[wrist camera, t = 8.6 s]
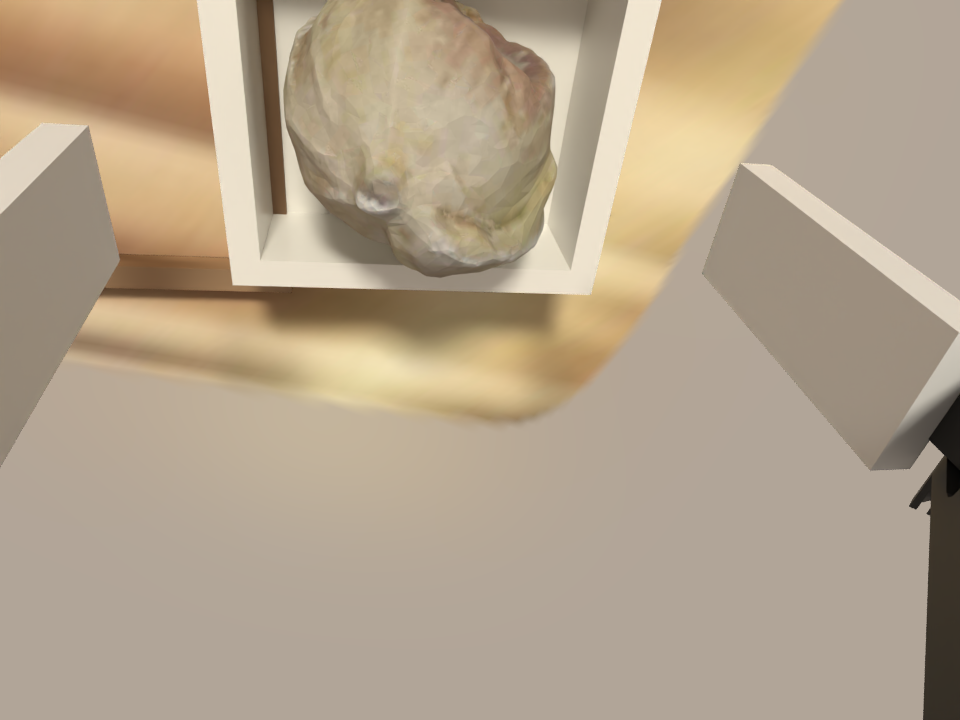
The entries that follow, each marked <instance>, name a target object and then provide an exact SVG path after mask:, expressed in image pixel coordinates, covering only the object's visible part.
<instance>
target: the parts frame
mask: <svg viewBox="0 0 960 720" xmlns="http://www.w3.org/2000/svg"><path fill="white" fill-rule="evenodd" d="M256 3H257V15H258V28H259V41H260V53H261V66H262V79H263V91H264V104H265V117H266V129H267V142H268V155H269V167H270V180H271V193H272V205H273V214H285V215H287V203H286V188H285V173H284V158H283V143H282V127H281V112H280V97H279V82H278V67H277V51H276V36H275V21H274V6H273V0H256ZM119 258H120V261H119V263H118V265H117V266H116V268H115V270H114V272H113V273H112V275H111V277H110V278H109V280H108V282H107V284H106V285H105V287H104V288H128V289H168V290H208V291H247V292H287V293H292V289H293V287H281V286H243V285H233V283H232V275H231V267H230V259H229V258H218V257H188V256H158V255H128V254H119Z"/></svg>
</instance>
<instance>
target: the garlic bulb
mask: <svg viewBox="0 0 960 720" xmlns="http://www.w3.org/2000/svg"><path fill="white" fill-rule="evenodd" d="M555 88H556V86H555V76H554V75H553V73H552V72H551V70H550V67H549V65H548V64H547V63H546V62H545V61H544V60H543V59H542V58H541V57H539V56H537V54H536V53H535V52H534V51H533V50H532V49H529V48H527V47H524V46H522V45H520V44H518V43H515V42H509V41H507V40H506V39H505V38H504V37H503V35H502V34H501V33H500V32H499V31H498V30H497V29H495V28H494V27H492V26H491V25H488V24H485V23H484V22H483V20H482V18H481V16H480V14H479V13H478V11H477V10H476V9H475V8H472V7H469V6H465V5H463V4H462V3H460V2H457V1H455V0H327V2H326V3H325V5H324V6H323V8H322V9H321V11H320V13H319V14H318V16H313V17H311V18H310V19H309V20H308V21H307V23H306V24H305V25H304V26H303V27H301V28H300V29H298V31H297V33H296V35H295V39H294V43H293V46H292V49H291V52H290V57H289V63H288V67H287V72H286V76H285V82H284V89H283V99H284V115H285V122H286V128H287V131H288V134H289V136H290V139H291V142H292V145H293V147H294V150H295V153H296V157H297V161H298V165H299V169H300V172H301V175H302V178H303V181H304V184H305V185H306V187H307V188H308V190H309V191H310V192H311V193H312V194H313V195H314V196H315V197H316V198H317V199H318V200H319V201H320V202H321V204H322V205H323V206H324V207H325V208H326V209H327V210H328V211H329V212H330V213H332V214H333V215H335V216H336V217H338V218H339V219H341V220H342V221H343V222H345V223H346V224H347V225H348V226H350V227H351V228H352V229H353V230H355V231H356V232H357V233H359V234H360V235H362V236H363V237H366V238H368V239H370V240H373V241H376V242H381V243H385V244H387V245H389V246H390V247H391V249H392V252H393V254H394V256H395V257H396V259H397V260H398V261H399V262H400V263H402V264H403V265H404V266H406V267H408V268H410V269H412V270H416V271H418V272H420V273H421V274H423V275H425V276H429V277H438V278H442V277H446V276H450V275H458V274H468V273H477V272H482V271H485V270H488V269H491V268H493V267H497V266H500V265H504V264H507V263H511V262H514V261H516V260H517V259H518V258H520V257H521V256H523V255H524V254H526V253H527V252H529V251H530V250H531V249H532V248H534V247H535V245H536V244H537V242H538V240H539V237H540V235H541V233H542V231H543V227H544V207H545V204H546V202H547V200H548V198H549V195H550V193H551V191H552V189H553V186H554V183H555V180H556V177H557V168H558V167H557V164H556V162H555V159H554V157H553V154H552V152H551V150H550V139H551V129H552V121H553V114H554V107H555Z"/></svg>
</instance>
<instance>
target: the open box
mask: <svg viewBox="0 0 960 720" xmlns="http://www.w3.org/2000/svg"><path fill="white" fill-rule="evenodd" d="M455 1H457V2H460V3H462V4H463V5H465V6H469V7H472V8H475V9H476V10H477V11H478V13H479V14H480V16H481V18H482V20H483V22H484V23H485V24H488V25H491V26H492V27H494V28H495V29H497V30H498V31H499V32H500V33H501V34H502V35H503V37H504V38H505V39H506V40H507V41H509V42H515V43H518V44H520V45H522V46H524V47H527V48H529V49H532V50H533V51H534V52H535V53H536V54H537V56H539V57H541V58H542V59H543V60H544V61H545V62H546V63H547V64H548V65H549V67H550V70H551V72H552V73H553V75H554V76H555V86H556V88H555V107H554V114H553V121H552V129H551V139H550V150H551V152H552V154H553V157H554V159H555V162H556V164H557V167H558V168H557V177H556V180H555V183H554V186H553V189H552V191H551V193H550V195H549V198H548V200H547V202H546V204H545V207H544V227H543V231H542V233H541V235H540V237H539V240H538V242H537V244H536V245H535V247H534V248H532V249H531V250H530V251H529V252H527V253H526V254H524V255H523V256H521V257H520V258H518V259H517V260H516V261H514V262H511V263H507V264H504V265H500V266H497V267H493V268H491V269H488V270H485V271H482V272H477V273H468V274H458V275H450V276H446V277H442V278H438V277H429V276H425V275H423V274H421V273H420V272H418V271H416V270H412V269H410V268H408V267H406V266H404V265H403V264H402V263H400V262H399V261H398V260H397V259H396V257H395V256H394V254H393V252H392V249H391V247H390V246H389V245H387V244H385V243H381V242H376V241H373V240H370V239H368V238H366V237H363V236H362V235H360V234H359V233H357V232H356V231H355V230H353V229H352V228H351V227H350V226H348V225H347V224H346V223H345V222H343V221H342V220H341V219H339V218H338V217H336V216H335V215H333V214H332V213H330V212H329V211H328V210H327V209H326V208H325V207H324V206H323V205H322V204H321V202H320V201H319V200H318V199H317V198H316V197H315V196H314V195H313V194H312V193H311V192H310V191H309V190H308V188H307V187H306V185H305V184H304V181H303V178H302V175H301V172H300V169H299V165H298V161H297V157H296V153H295V150H294V147H293V145H292V142H291V139H290V136H289V134H288V131H287V128H286V122H285V115H284V99H283V89H284V82H285V76H286V72H287V67H288V63H289V57H290V52H291V49H292V46H293V43H294V39H295V35H296V33H297V31H298V29H300V28H301V27H303V26H304V25H305V24H306V23H307V21H308V20H309V19H310V18H311V17H313V16H318V14H319V13H320V11H321V9H322V8H323V6H324V5H325V3H326V2H327V0H273V6H274V21H275V36H276V51H277V67H278V82H279V97H280V112H281V127H282V143H283V158H284V173H285V188H286V203H287V215H285V214H273V205H272V193H271V180H270V167H269V155H268V142H267V129H266V117H265V104H264V91H263V79H262V66H261V53H260V41H259V28H258V15H257V3H256V0H197V5H198V13H199V21H200V29H201V37H202V45H203V53H204V60H205V68H206V76H207V84H208V92H209V100H210V108H211V116H212V124H213V132H214V140H215V148H216V156H217V164H218V172H219V180H220V188H221V196H222V204H223V212H224V220H225V228H226V235H227V243H228V251H229V259H230V267H231V275H232V283H233V285H243V286H281V287H318V288H356V289H393V290H431V291H468V292H506V293H543V294H581V295H591V293H592V288H593V284H594V280H595V276H596V272H597V268H598V263H599V259H600V255H601V251H602V247H603V242H604V238H605V234H606V230H607V226H608V222H609V217H610V213H611V209H612V205H613V201H614V197H615V192H616V188H617V184H618V180H619V176H620V172H621V167H622V163H623V159H624V155H625V151H626V146H627V142H628V138H629V134H630V130H631V126H632V121H633V117H634V113H635V109H636V105H637V101H638V96H639V92H640V88H641V84H642V80H643V76H644V71H645V67H646V63H647V59H648V55H649V50H650V46H651V42H652V38H653V34H654V30H655V25H656V21H657V17H658V13H659V9H660V5H661V0H455Z"/></svg>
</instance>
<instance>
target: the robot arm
mask: <svg viewBox="0 0 960 720" xmlns="http://www.w3.org/2000/svg"><path fill="white" fill-rule="evenodd" d="M119 261H120V258H119V254H118V249H117V245H116V241H115V237H114V232H113V228H112V224H111V220H110V215H109V211H108V207H107V203H106V198H105V194H104V190H103V186H102V181H101V177H100V173H99V169H98V164H97V160H96V156H95V152H94V147H93V143H92V139H91V135H90V130H89V126H87V125H69V124H52V123H41V124H40V125H39V126H38V127H37V128H35V129H34V130H33V131H32V132H31V133H29V134H28V135H27V136H26V137H25V138H24V139H22V140H21V141H20V142H19V143H18V144H16V145H15V146H14V147H13V148H12V149H11V150H9V151H8V152H7V153H6V154H5V155H4V156H2V157H1V158H0V467H1V465H2V464H3V462H4V460H5V458H6V457H7V455H8V453H9V452H10V450H11V448H12V446H13V445H14V443H15V441H16V439H17V438H18V436H19V434H20V432H21V431H22V429H23V427H24V425H25V424H26V422H27V420H28V419H29V417H30V415H31V413H32V412H33V410H34V408H35V407H36V405H37V403H38V401H39V399H40V398H41V396H42V394H43V392H44V391H45V389H46V387H47V386H48V384H49V382H50V381H51V379H52V377H53V375H54V373H55V372H56V370H57V368H58V367H59V365H60V363H61V362H62V360H63V358H64V356H65V355H66V353H67V351H68V349H69V348H70V346H71V344H72V343H73V341H74V339H75V337H76V336H77V334H78V332H79V330H80V329H81V327H82V325H83V323H84V322H85V320H86V318H87V317H88V315H89V313H90V311H91V310H92V308H93V306H94V304H95V303H96V301H97V299H98V298H99V296H100V294H101V292H102V291H103V289H104V287H105V285H106V284H107V282H108V280H109V278H110V277H111V275H112V273H113V272H114V270H115V268H116V266H117V265H118V263H119ZM702 274H703V275H704V276H705V277H706V279H707V280H708V281H709V282H710V283H711V285H712V286H713V287H714V288H715V289H716V290H717V291H718V293H719V294H720V295H721V296H722V297H723V298H724V300H725V301H726V302H727V303H728V304H729V306H730V307H731V308H732V309H733V310H734V311H735V313H736V314H737V315H738V316H739V317H740V318H741V320H742V321H743V322H744V323H745V324H746V326H747V327H748V328H749V329H750V330H751V331H752V333H753V334H754V335H755V336H756V337H757V338H758V340H759V341H760V342H761V343H762V344H763V345H764V347H765V348H766V349H767V350H768V351H769V353H770V354H771V355H772V356H773V357H774V358H775V360H776V361H777V362H778V363H779V364H780V365H781V367H782V368H783V369H784V370H785V371H786V372H787V374H788V375H789V376H790V377H791V378H792V379H793V380H794V382H795V383H796V384H797V385H798V387H799V388H800V389H801V390H802V391H803V392H804V393H805V395H806V396H807V397H808V398H809V399H810V401H811V402H812V403H813V404H814V405H815V406H816V408H817V409H818V410H819V411H820V412H821V413H822V415H823V416H824V417H825V418H826V419H827V420H828V422H829V423H830V424H831V425H832V426H833V427H834V429H835V430H836V431H837V432H838V433H839V435H840V436H841V437H842V438H843V439H844V440H845V442H846V443H847V444H848V445H849V446H850V447H851V449H852V450H853V451H854V452H855V453H856V454H857V456H858V457H859V458H860V459H861V460H862V461H863V463H864V464H865V465H866V466H867V467H868V469H869V470H892V469H893V470H894V469H910V468H911V467H912V465H913V464H914V462H915V461H916V459H917V458H918V456H919V455H920V453H921V452H922V451H923V449H924V448H925V446H926V445H927V443H928V442H929V441H931V442H932V443H933V444H934V445H935V446H936V447H937V448H938V449H939V450H940V451H941V452H942V453H943V454H944V457H943V458H942V459H941V461H940V462H939V463H938V465H937V466H936V468H935V469H934V470H933V472H932V473H931V475H930V476H929V477H928V479H927V480H926V481H925V483H924V484H923V486H922V487H921V488H920V490H919V491H918V493H917V494H916V495H915V497H914V498H913V499H912V501H911V503H910V505H909V507H912V508H914V509H917V508H918V506H919V505H920V504H921V502H926V501H929V500H930V501H931V508H930V509H929V511H928V512H927V514H928V515H930V543H929V572H928V599H927V627H926V655H925V683H924V710H923V711H924V712H923V720H960V301H959V300H958V299H957V298H955V297H954V296H953V295H951V294H950V293H948V292H947V291H946V290H944V289H943V288H941V287H940V286H939V285H937V284H936V283H935V282H933V281H932V280H930V279H929V278H928V277H926V276H925V275H923V274H922V273H921V272H919V271H918V270H917V269H915V268H914V267H912V266H911V265H910V264H908V263H907V262H905V261H904V260H903V259H901V258H900V257H898V256H897V255H896V254H894V253H893V252H891V251H890V250H889V249H887V248H886V247H885V246H883V245H882V244H880V243H879V242H877V241H876V240H875V239H874V238H872V237H871V236H869V235H868V234H867V233H865V232H864V231H862V230H861V229H860V228H858V227H857V226H855V225H854V224H853V223H851V222H850V221H849V220H847V219H846V218H844V217H843V216H841V215H840V214H839V213H837V212H836V211H835V210H833V209H832V208H831V207H829V206H828V205H826V204H825V203H823V202H822V201H821V200H819V199H818V198H817V197H815V196H814V195H812V194H811V193H809V192H808V191H807V190H806V189H804V188H803V187H801V186H800V185H799V184H797V183H796V182H794V181H793V180H791V179H790V178H789V177H788V176H786V175H785V174H783V173H782V172H781V171H779V170H778V169H776V168H775V167H773V166H772V165H765V164H748V163H740V165H739V168H738V171H737V174H736V177H735V179H734V182H733V185H732V188H731V191H730V194H729V197H728V200H727V203H726V205H725V208H724V211H723V214H722V217H721V220H720V223H719V226H718V229H717V232H716V234H715V237H714V240H713V243H712V246H711V249H710V252H709V254H708V257H707V260H706V263H705V266H704V269H703V271H702Z"/></svg>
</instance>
